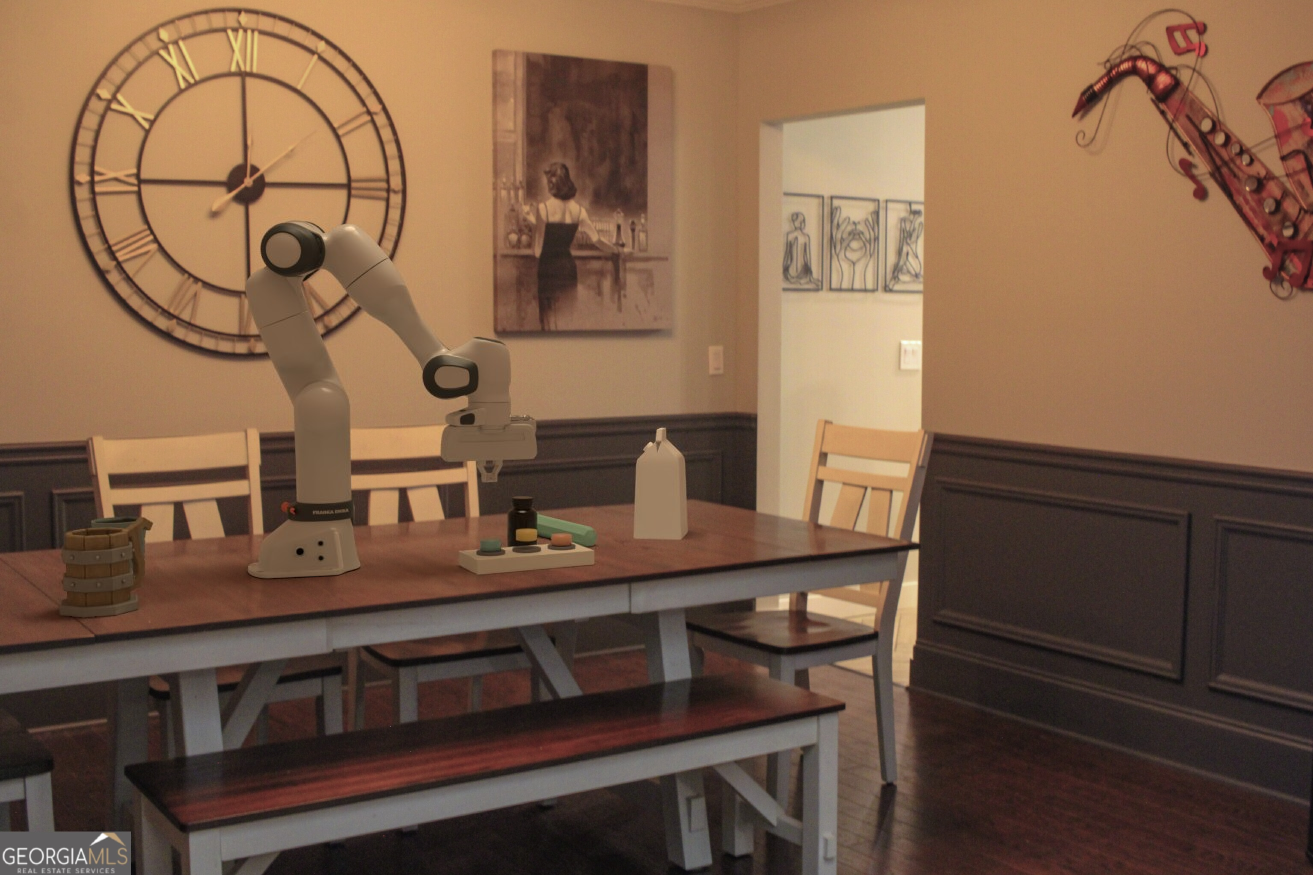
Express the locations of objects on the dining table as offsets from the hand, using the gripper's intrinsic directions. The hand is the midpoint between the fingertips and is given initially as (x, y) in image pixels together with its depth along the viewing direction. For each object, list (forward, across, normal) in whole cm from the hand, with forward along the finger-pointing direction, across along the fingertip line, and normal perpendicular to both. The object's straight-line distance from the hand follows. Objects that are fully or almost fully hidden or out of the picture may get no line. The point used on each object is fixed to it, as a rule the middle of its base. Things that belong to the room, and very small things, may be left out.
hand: (489, 481), depth 266 cm
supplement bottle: (+18, -14, -18) cm, 29 cm away
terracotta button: (+14, -16, 0) cm, 22 cm away
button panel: (+18, -8, 0) cm, 20 cm away
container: (+18, -28, -26) cm, 42 cm away
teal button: (+14, 0, 0) cm, 14 cm away
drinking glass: (+19, +70, -20) cm, 75 cm away
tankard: (+19, +73, +6) cm, 75 cm away
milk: (+18, -52, -23) cm, 60 cm away
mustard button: (+13, -8, 0) cm, 15 cm away
